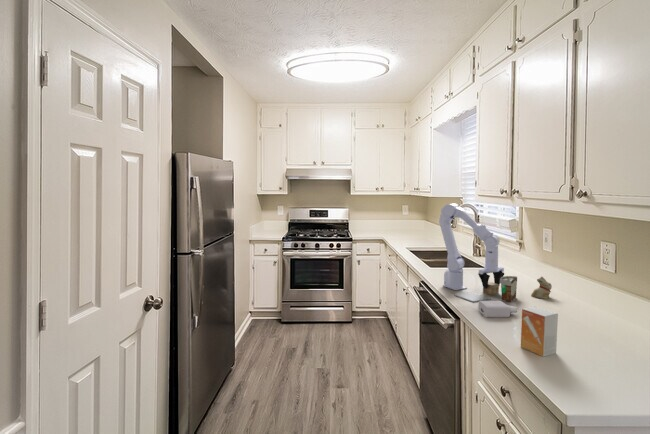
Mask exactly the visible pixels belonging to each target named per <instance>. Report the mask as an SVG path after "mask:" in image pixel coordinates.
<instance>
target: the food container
mask: <svg viewBox="0 0 650 434" xmlns="http://www.w3.org/2000/svg"><path fill="white" fill-rule="evenodd" d="M517 284H518V276H514V275H512V276H511V275H507V276H506V275H504V276H503V277H501V279H500V285H501V286H500V288H501V289H500V290H501V300H502V301H504V302H506V303H513V302H514V301H515V299H516V298H517V286H518V285H517Z"/></svg>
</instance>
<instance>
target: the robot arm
mask: <svg viewBox="0 0 650 434" xmlns="http://www.w3.org/2000/svg"><path fill="white" fill-rule="evenodd" d="M454 218H459V219H461V220H462V221H464V223H466V225H467V224H468V226H469V227H471V229H472V232H473V234H475V236H477V237H478V238H479V239H480V240H481V241H482V242H483V244H484V247H485V251H484V252H485V253H484V254H485V256H484V257H485V259H484V260H485V261H484V266H485V267H484V268H481V269H478V274H477V275H478V277H479V278H480V281H481V284H482V289H483V288H488V282H489V281H490V280H489V279H490V277H491V275H489V274H492V275H493V283H496V284H499V286H500V285H501V283H500V279H501V277H504V276H505V267H503V266H499V244H500V239H499V237H498V235H496V234H494V232H491V231H490V230H489V229H488V228H487V225H485V224H482V223H477V222H476V220H474V219H473V217H472V216H471V215H470V214H468V213H467V211H466V210H465V209H464V208H463V207H462V206H460V205H459V204H457V203H447V204H445V205H444V206H443V207H442V208H441V210H440V217H439V222H438V223H439V226H440V230H441V233H442V236H443V237H442V238H443V241H444V244H445V247H446V248H445V249H446V252H447V258H446V259H447V265H446V267H447V269H446V270H445V271H444V275H443V285H442V287H445V288H447V289H450V290H454V291H457V290H466V289H467V287H466V286H464V269H463V268H464V267H465V264H466V263H465V262H466V261H465V260H464V258H462V255H461V253H460V252H459V251H458V246H457V242H456V240H455V235H454V232H453V228H452V224H451V222H452V221H453V219H454Z"/></svg>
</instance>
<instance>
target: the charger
mask: <svg viewBox="0 0 650 434" xmlns="http://www.w3.org/2000/svg"><path fill="white" fill-rule="evenodd" d="M477 310H478V311H479V313H480V314H482V316H484V317H485V318H509V317H511V314H516V313H517V312H518V311H522V310H521V309H520V308H519V307H515V306H514V305H508V304H506V303H505V301H504V302H503V300H502V301H501V300H485V301H479V302H478V309H477Z"/></svg>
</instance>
